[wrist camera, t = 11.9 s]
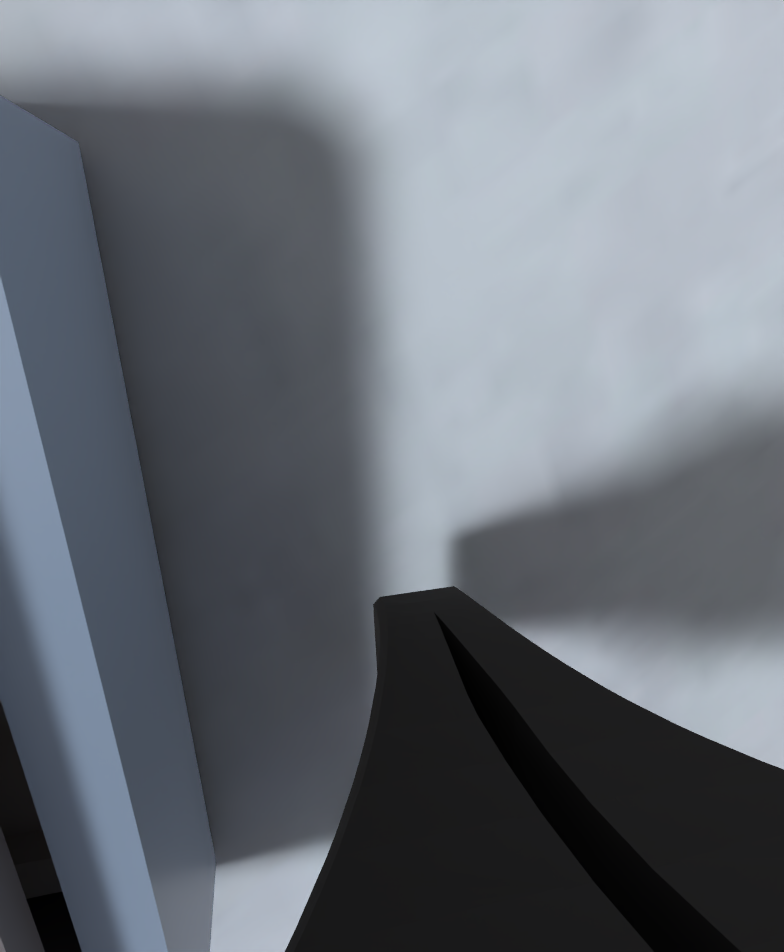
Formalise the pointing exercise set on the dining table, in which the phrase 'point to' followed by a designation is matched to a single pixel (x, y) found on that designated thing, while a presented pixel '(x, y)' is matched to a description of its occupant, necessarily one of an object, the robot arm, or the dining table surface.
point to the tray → (84, 591)
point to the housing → (31, 915)
